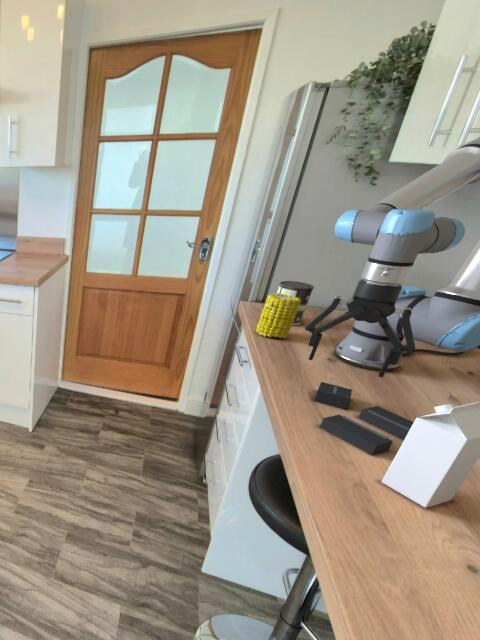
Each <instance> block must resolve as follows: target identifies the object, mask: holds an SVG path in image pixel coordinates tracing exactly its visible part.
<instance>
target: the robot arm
mask: <svg viewBox="0 0 480 640" xmlns="http://www.w3.org/2000/svg"><path fill="white" fill-rule="evenodd" d="M477 182H480V137H477V138H475V139H472V140H471V141H468V142H466V143H464V144H463V145H461V146H459V147H458V148H456V149H454V150H453V151H451V152H450V153H448V154H447V155H446V157H444V159H443V161H442V162H441V163H439V164H438V165H436V166H435V167H433V168H431V169H429V170H428V171H426V172H425V173H423V174H422V175H420V176H418V177H417V178H415V179H414V180H412V181H411V182H409V183H407V184H406V185H404V186H403V187H400V188H399V189H398V190H395V191H394V192H392V193H391V194H390V195H388V196H385V198H383V199H382V200H380V201H378V202H377V203H375V204H374V205H372V206H370V207H369V208H367V209H365V210H364V209H363V210H362V209H350V210H347V211H345V212H344V213H342V215H340V217H339V218H338V219H337V221H336V223H335V226H334V235H335V238H337V239H338V240H341V241H346V242H350V243H352V244H354V243H355V244H362V245H370V246H373V247H372V250H371V252H370V255H369V256H368V259H367V260H366V263H365V265H364V268H363V271H362V273H361V275H360V278H361V280H359V281H358V283H357V285H356V287H355V289H354V292H353V294H352V297H351V298H350V299H347V298H342V296H340V295H336V296H335V297H334V298H333V300H332V302H331V304H329V305H328V306H327V307H326V308H324V309H323V311H321V312H320V313H319V314H318V315H317V316H316V317H314V318H313V319H312V320H311V321H310V322H308V323H307V324H306V326H305V327H304V330H305V331H307V332H309V333H311V336H310V339H309V342H308V346H309V347H312V349H311V351H310V354H309V357H308V361H313V359H314V357H315V355H316V352H317V349H318V347H319V345H320V342H321V339H322V337H323V333H324V332H326V331H327V330H330V329H331V328H334V327H336V326H337V325H339V324H342V323H344V322H346V321H348V320H350V319H354V320H355V321H354V323H353V326H352V329H351V330H350V332H349V333H348V334H347V336H346V337H344V339H343V340H342V341H341V342H340V343H338V345H337V346H336V348H335V349H334V353H333V355H334V356H335V357H336V358H337V359H338V360H340V361H342V362H344V363H346V364H348V365H351V366H355V367H358V368H362V369H366V370H373V371H379V372H378V377H379V378H384V376H385V374H386V372H393V371H397V370H399V369H400V366H401V365H402V360H403V359H402V358H403V357H405V356H409V355H410V354H412V353H419V352H420V353H429V354H435V355H441V356H442V355H444V356H459V355H460V356H461V355H463V354H465V353H467V352H469V351H472V350H474V349H475V348H478V349H480V239H479V240H478V241H477V243H476V245H475V246H474V247H473V249H472V250H471V252H470V254H469V255H468V256H467V258H466V260H465V261H464V263H463V264H462V266H461V267H460V269H459V270H458V272H457V273H456V275H455V276H454V278H453V279H452V281H451V282H450V284H449V285H448V286H445V287H443V288H440V289H437V290H436V292H435V293H434V295H433V296H427V289H426V288H423V287H419V286H412V285H404V284H405V283H406V281H407V280H408V277H409V274H410V273H411V270H412V268H413V266H414V264H415V261H416V259H417V257H418V255H420V254H435V253H436V254H437V253H441V252H446V251H448V250H452V249H453V248H454V247H456V246H458V245H459V243H461V242H462V240H463V239H464V237H465V235H466V227H465V225H464V223H463V222H462V221H460V220H459V219H457V218H454V217H448V216H447V217H446V216H437V217H436V214H435V212H434V211H432V210H427V209H428V208H429V207H431V206H433V205H435V204H436V203H438V202H439V201H441V200H442V199H445V198H446V197H448V196H449V195H451V194H453V193H454V192H455V191H457V190H459V189H461V188H462V187H464V186H465V185H472V184H474V183H477ZM345 305H346V308H347V310H348V311H345V312H344V313H342V314H341V315H339V316H336V317H335V318H333V319H331V320H329V321H326V322H325V323H323V324H321V325H319V326H317V325H318V324H320V323H321V322H322V321H323V320H324V319H326V318H327V317H328V316H329V315H330V314H332V312H334V311H335V310H336V309H337V308H341V307H342V306H345ZM316 326H317V327H316ZM404 340H405V344H403V341H404ZM415 341H417V342H421V343H425V344H427V345H429V346H433V347H436V348H438V349H443V350H449V351H452V352H448V351H442V350H441V351H440V350H433V349H427V348H426V349H425V348H416V343H415Z"/></svg>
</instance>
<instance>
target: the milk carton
mask: <svg viewBox="0 0 480 640" xmlns="http://www.w3.org/2000/svg"><path fill="white" fill-rule="evenodd" d="M479 406H480V401H475V402H470V403H467V404H463V405H457V406H453V404H451V403H450V404H442V405H437V406H434V411H435V412H433V413H430V414H425V415H421V416H417V417H416V418H415V419H414V421H413V422H414V423H413V425H412V427H411V429H410V430H409V432H408V434H407V436H406V438H405V440H403V441H402V444H401V445H400V447H399V449H398V450H397V453H396V454H395V456H394V458H393V460H392V462H391V464H390V465H389V467H388V469H387V471H386V472H385V475H384V476H383V478H382V480H381V483H382V484H384V485H385V486H387V487H389V488H391V489H392V490H394V491H395V492H398V493H399V494H401V495H402V496H404V497H406V498H407V499H409V500H411V501H413V502H414V503H416V504H417V505H419V506H421V507H422V508H425V509H426V508H430V507H434V506H437V505H441V504H443V503H446V502H450V501H452V500H453V499H454V497H455V495H456V494H457V492H458V491H459V489H460V487H462V485H463V483H464V481H465V480H466V478H467V477H468V476H469V474H470V472H471V470H472V469H473V468H474V466H475V465H476V464H477V462H478V460H479V458H480V408H479Z"/></svg>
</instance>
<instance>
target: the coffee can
mask: <svg viewBox="0 0 480 640" xmlns="http://www.w3.org/2000/svg"><path fill="white" fill-rule="evenodd" d="M314 288H315V286H314V285H312V284H310V283H307V282H301V281H293V280H283V281H280V282H279V284H278V289H277V292H276V293H277V294H278V293H281V294H283V295H284V294H286V295H287V296H289V295H291V296H293V297H297V298H300V300H301V302H300V305H299V306H298V310H297V311H296V312H297V313H296V315H295V318H294V322H292V323H293V324H292V325H291V326H299V325H301V324H302V320H303V318H304V315H305V312H306V309H307V306H308V303H309V300H310V299H311V295H312V292H313V290H314Z"/></svg>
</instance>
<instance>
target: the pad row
mask: <svg viewBox="0 0 480 640" xmlns="http://www.w3.org/2000/svg"><path fill="white" fill-rule="evenodd" d="M358 419H359V420H362V421H364V422H366V423H368V424H370V425H372V426H374V427H377V428H378V429H381V430H383V431H384V432H387V433H389V434H391V435H393V436H395V437H397V438H399V439H401V440H403V441H404V440H405V438H406V436H407V434H408V432H409V430H410V429H411V427H412V425H413V423H414V421H412V420H410V419H408V418H405V417H403V416H401V415H399V414H397V413H394V412H392V411H390V410H388V409H386V408H384V407H381V406H378V405H375V406H370V407H365V408H362V409H361V412H360V413H359V415H358ZM319 428H321V429H322V430H325V431H326V432H328V433H330V434H332V435H333V436H336V437H337V438H339V439H341V440H342V441H343V440H344V441H345V442H347V443H349V444H350V445H352V446H354V447H356V448H358V449H360V450H361V451H364V452H366V454H369V455H370V456H374V455H377V454H381V453H385V452H389V450H390V448H391V446H392V444H393V443H394V440H392V439H389V438H388V437H387V436H386V435H383V434H381V433H379V432H377V431H376V430H373V429H371V428H369V427H368V426H365V425H363V424H362V423H359V422H358V421H355V420H353V419H351V418H349V417H347V416H345V415H342V414H334V415H330V416H327V417H323V418H322V421H321V423H320V425H319Z"/></svg>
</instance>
